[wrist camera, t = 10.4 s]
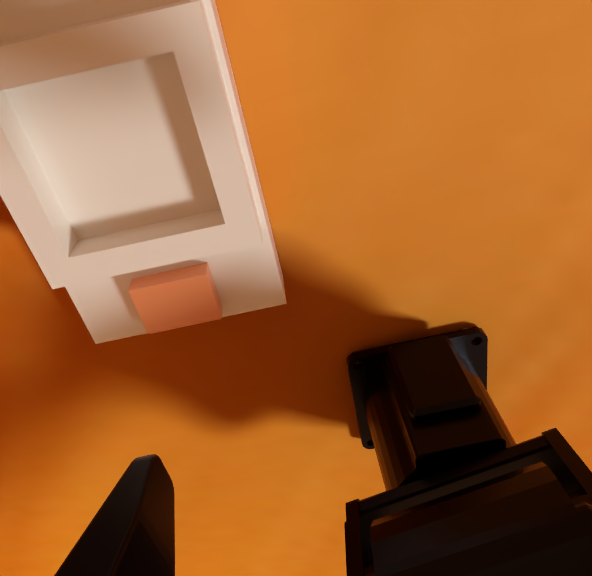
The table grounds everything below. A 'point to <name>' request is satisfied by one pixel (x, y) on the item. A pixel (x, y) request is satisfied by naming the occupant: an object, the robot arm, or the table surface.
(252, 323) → the table surface
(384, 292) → the table surface
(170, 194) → the power strip
